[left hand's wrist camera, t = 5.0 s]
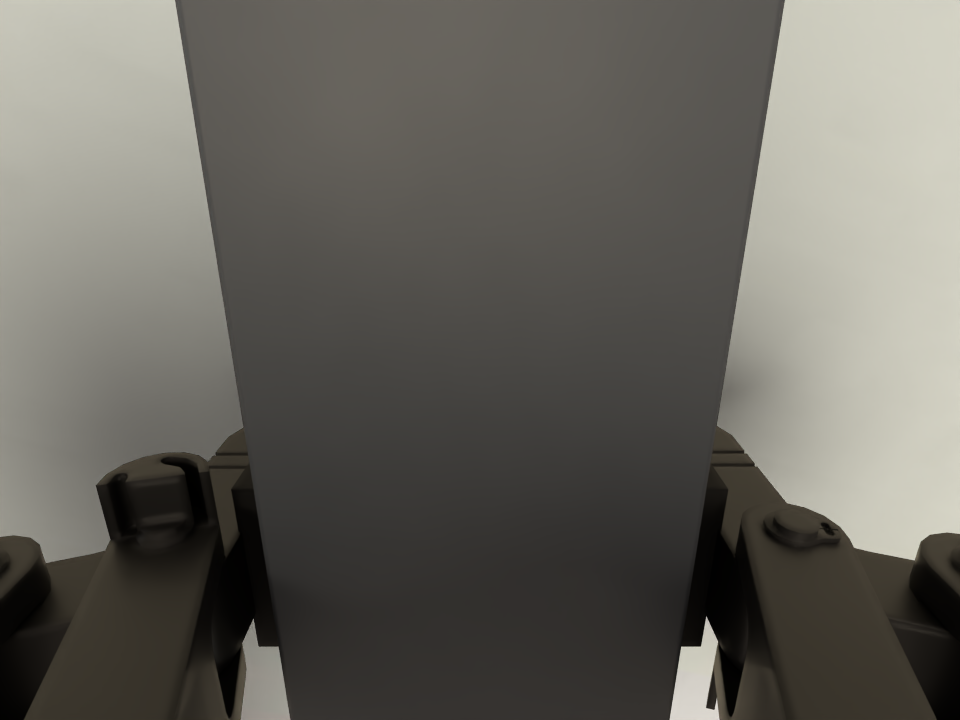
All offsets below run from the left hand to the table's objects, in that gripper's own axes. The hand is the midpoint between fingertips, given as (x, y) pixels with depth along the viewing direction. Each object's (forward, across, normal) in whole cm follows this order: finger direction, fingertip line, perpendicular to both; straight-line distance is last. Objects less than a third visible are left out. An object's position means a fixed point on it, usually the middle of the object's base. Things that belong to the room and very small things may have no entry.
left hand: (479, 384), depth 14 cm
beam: (+1, 0, -34) cm, 34 cm away
